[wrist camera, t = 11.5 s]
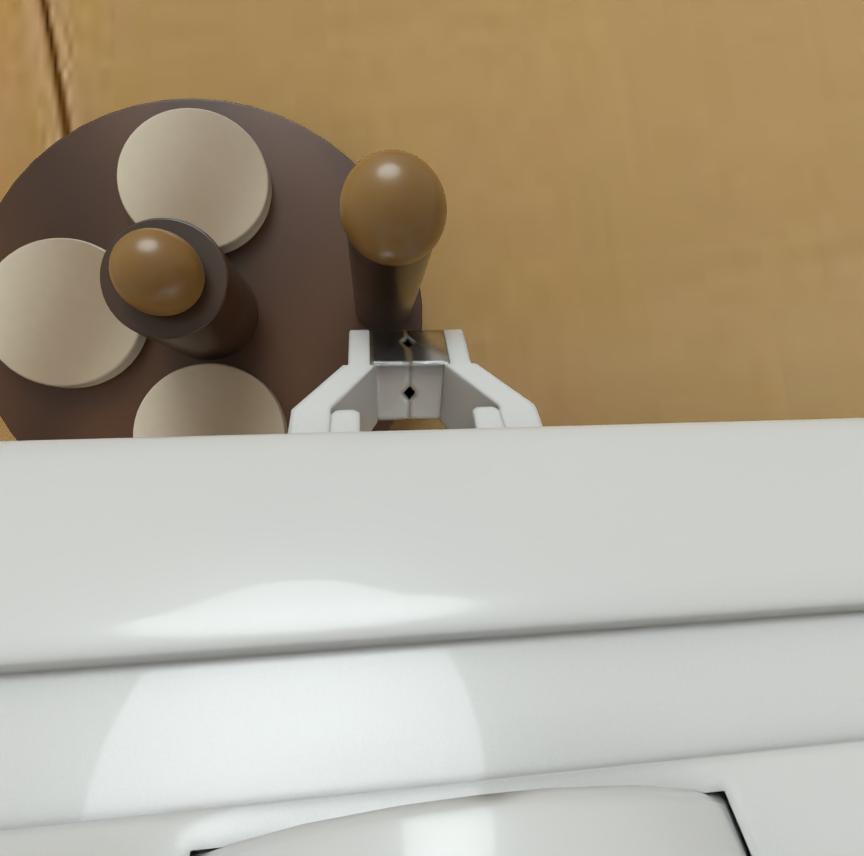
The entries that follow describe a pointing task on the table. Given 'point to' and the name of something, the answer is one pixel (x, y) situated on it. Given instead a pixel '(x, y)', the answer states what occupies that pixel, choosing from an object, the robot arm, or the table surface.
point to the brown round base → (199, 271)
